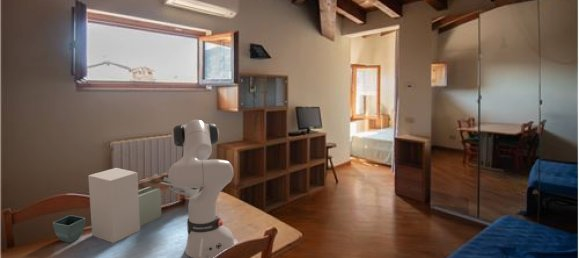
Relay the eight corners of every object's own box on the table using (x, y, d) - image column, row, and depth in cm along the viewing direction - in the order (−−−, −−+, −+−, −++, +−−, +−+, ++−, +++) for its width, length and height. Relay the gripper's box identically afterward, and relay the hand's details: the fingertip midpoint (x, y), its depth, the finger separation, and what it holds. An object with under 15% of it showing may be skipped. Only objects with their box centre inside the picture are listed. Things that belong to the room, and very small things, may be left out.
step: (149, 213, 185) (148, 185, 182) (161, 216, 182) (160, 188, 179) (125, 224, 172) (124, 194, 169) (137, 227, 168) (135, 197, 166)
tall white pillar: (119, 223, 172) (116, 167, 167) (139, 230, 166) (137, 172, 161) (92, 235, 160) (88, 175, 155) (113, 242, 154) (110, 180, 149)
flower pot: (87, 236, 158) (85, 217, 157) (70, 245, 150) (68, 225, 149) (71, 233, 161) (69, 214, 159) (53, 242, 152) (51, 222, 151)
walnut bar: (165, 177, 189) (165, 172, 189) (170, 178, 188) (170, 173, 187) (131, 189, 170) (130, 183, 169) (136, 191, 168) (136, 185, 168)
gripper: (164, 175, 200) (147, 168, 189) (193, 181, 192) (176, 174, 180) (160, 186, 199) (143, 180, 187) (189, 192, 190) (172, 186, 178)
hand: (159, 177), depth 183 cm, fingers closed on walnut bar, 3 cm apart
